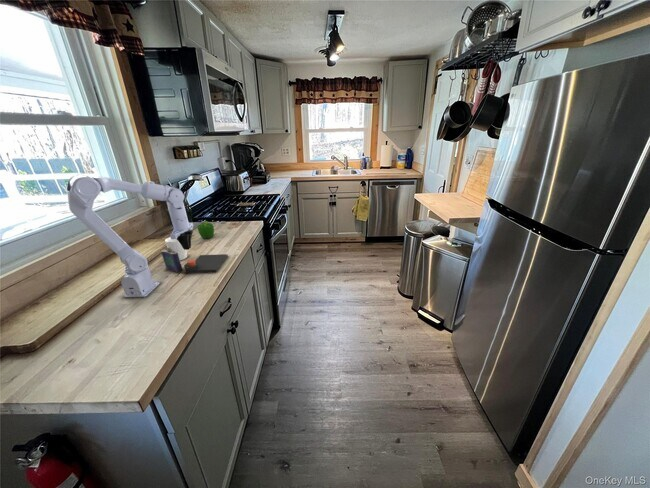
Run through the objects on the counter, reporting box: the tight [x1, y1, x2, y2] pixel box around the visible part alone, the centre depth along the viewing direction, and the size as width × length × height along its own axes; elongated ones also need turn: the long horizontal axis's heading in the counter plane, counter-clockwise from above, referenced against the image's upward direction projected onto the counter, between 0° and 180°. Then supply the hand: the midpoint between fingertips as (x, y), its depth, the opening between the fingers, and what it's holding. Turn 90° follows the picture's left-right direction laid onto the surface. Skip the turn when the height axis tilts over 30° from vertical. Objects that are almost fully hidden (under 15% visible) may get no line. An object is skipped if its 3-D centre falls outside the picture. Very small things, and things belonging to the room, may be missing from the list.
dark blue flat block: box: [160, 247, 184, 273], centre depth 111 cm, size 9×3×11 cm, turn 65°
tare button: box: [186, 259, 196, 266], centre depth 111 cm, size 3×3×2 cm
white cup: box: [164, 236, 188, 261], centre depth 122 cm, size 8×8×10 cm
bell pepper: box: [197, 220, 215, 240], centre depth 146 cm, size 8×8×10 cm
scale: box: [183, 253, 229, 274], centre depth 116 cm, size 16×14×3 cm
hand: (187, 248), depth 108 cm, fingers closed
